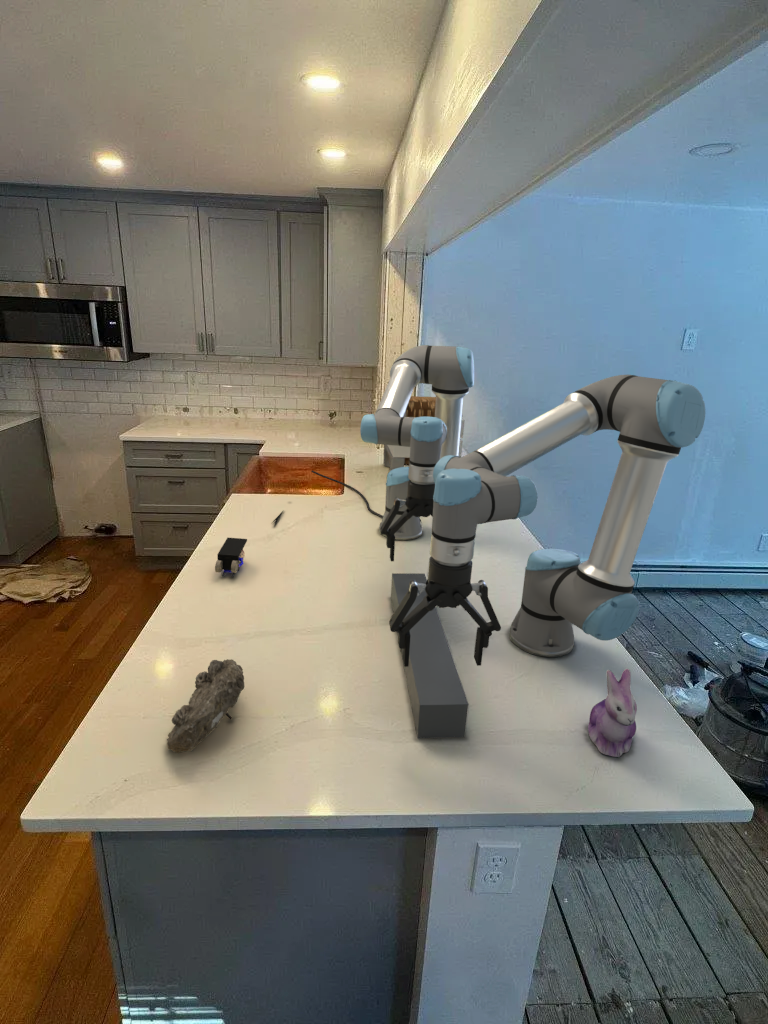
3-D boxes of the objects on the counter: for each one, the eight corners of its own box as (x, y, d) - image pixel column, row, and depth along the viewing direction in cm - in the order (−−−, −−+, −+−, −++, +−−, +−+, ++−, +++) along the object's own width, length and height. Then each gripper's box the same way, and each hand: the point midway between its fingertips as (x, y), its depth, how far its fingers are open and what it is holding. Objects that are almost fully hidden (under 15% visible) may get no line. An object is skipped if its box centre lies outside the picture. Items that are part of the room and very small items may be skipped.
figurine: (615, 767, 100) (631, 697, 95) (572, 730, 109) (585, 664, 103) (651, 751, 104) (668, 682, 99) (607, 716, 113) (621, 652, 108)
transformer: (382, 463, 289) (386, 382, 275) (445, 464, 293) (451, 384, 279) (390, 482, 257) (394, 392, 243) (460, 483, 261) (468, 394, 247)
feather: (290, 505, 227) (293, 501, 226) (273, 528, 200) (276, 524, 200) (286, 502, 226) (289, 498, 226) (269, 525, 200) (272, 521, 199)
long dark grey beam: (390, 598, 155) (392, 573, 153) (422, 598, 156) (424, 573, 154) (417, 738, 105) (419, 705, 102) (464, 737, 106) (468, 704, 103)
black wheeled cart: (238, 584, 162) (249, 557, 175) (236, 562, 158) (247, 536, 172) (215, 584, 161) (227, 556, 175) (212, 561, 158) (225, 535, 171)
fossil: (192, 660, 117) (244, 628, 112) (224, 691, 120) (276, 661, 115) (142, 746, 98) (202, 712, 93) (182, 779, 101) (242, 748, 96)
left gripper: (374, 484, 135) (371, 565, 142) (476, 485, 138) (468, 565, 145) (371, 475, 142) (368, 553, 149) (468, 477, 145) (461, 553, 152)
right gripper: (381, 567, 94) (376, 674, 101) (527, 567, 96) (512, 673, 103) (378, 548, 101) (373, 650, 108) (514, 549, 103) (501, 649, 110)
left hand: (417, 559), depth 147 cm, fingers open, 13 cm apart
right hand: (441, 661), depth 106 cm, fingers open, 13 cm apart
